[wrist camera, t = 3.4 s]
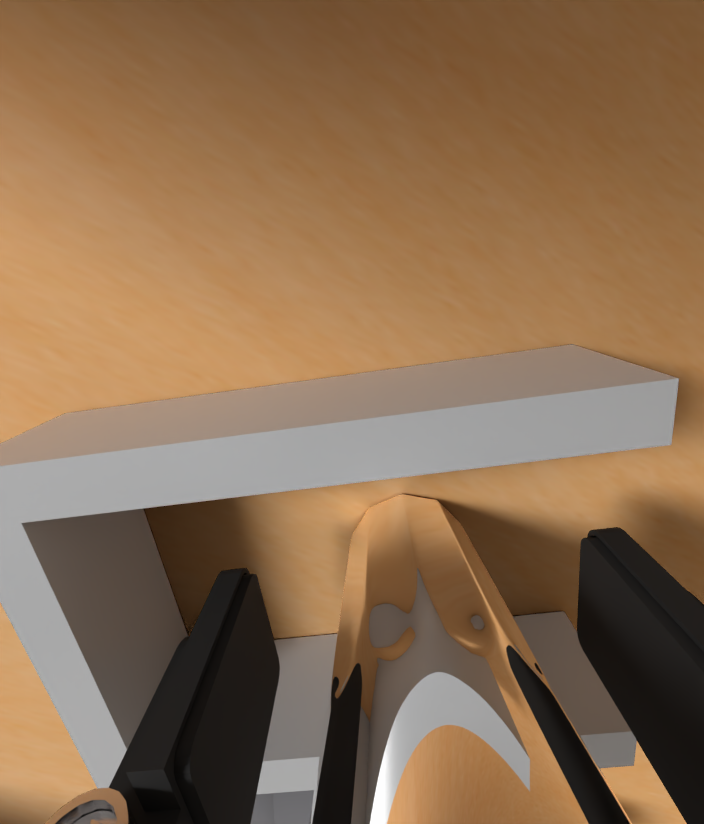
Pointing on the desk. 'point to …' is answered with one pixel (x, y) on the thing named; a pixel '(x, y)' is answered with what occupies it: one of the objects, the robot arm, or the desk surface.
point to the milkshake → (442, 693)
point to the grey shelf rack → (269, 473)
